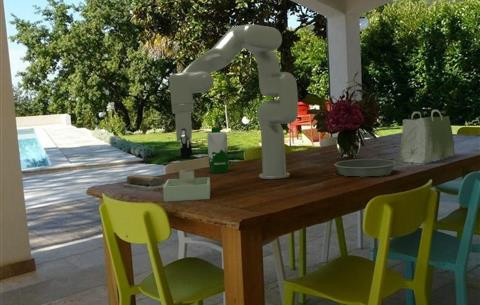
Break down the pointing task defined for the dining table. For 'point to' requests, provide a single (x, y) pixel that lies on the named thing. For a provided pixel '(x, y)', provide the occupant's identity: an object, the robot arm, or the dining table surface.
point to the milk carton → (217, 151)
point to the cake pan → (365, 167)
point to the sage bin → (186, 190)
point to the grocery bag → (426, 139)
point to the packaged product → (144, 182)
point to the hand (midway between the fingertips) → (186, 156)
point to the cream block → (187, 177)
